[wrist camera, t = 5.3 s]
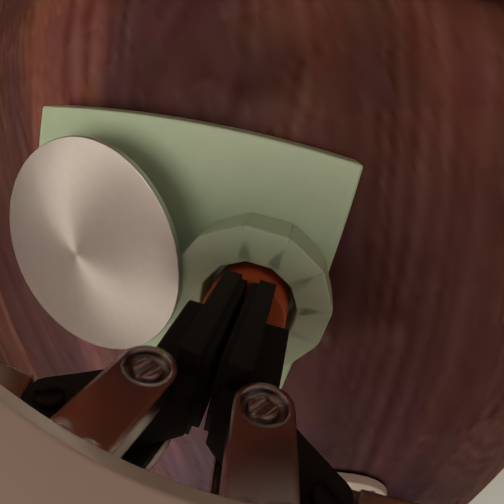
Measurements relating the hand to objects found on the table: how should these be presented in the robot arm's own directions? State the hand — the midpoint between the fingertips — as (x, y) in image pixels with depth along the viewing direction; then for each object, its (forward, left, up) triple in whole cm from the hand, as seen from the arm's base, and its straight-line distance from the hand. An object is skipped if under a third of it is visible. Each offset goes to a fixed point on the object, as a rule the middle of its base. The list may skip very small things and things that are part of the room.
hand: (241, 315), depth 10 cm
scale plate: (+7, 0, -1) cm, 7 cm away
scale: (+5, 0, -4) cm, 6 cm away
